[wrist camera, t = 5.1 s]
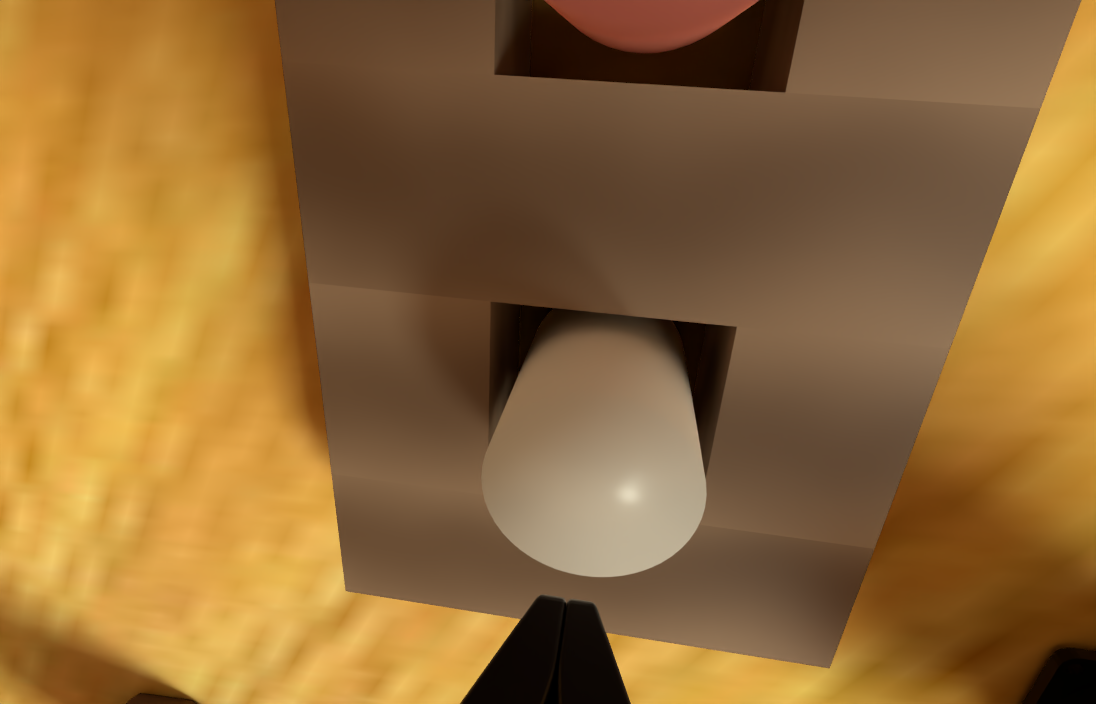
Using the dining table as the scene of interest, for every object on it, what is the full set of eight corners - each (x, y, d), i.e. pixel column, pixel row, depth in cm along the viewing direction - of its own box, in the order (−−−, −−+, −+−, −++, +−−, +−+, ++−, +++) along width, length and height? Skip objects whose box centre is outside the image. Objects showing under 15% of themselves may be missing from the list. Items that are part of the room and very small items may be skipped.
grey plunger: (672, 436, 18) (687, 591, 12) (528, 418, 18) (480, 560, 13) (696, 297, 16) (725, 408, 10) (534, 281, 16) (482, 379, 11)
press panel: (795, 562, 20) (829, 668, 16) (395, 505, 21) (345, 591, 18) (1131, -533, 10) (1416, -892, 6) (329, -498, 11) (181, -772, 8)
